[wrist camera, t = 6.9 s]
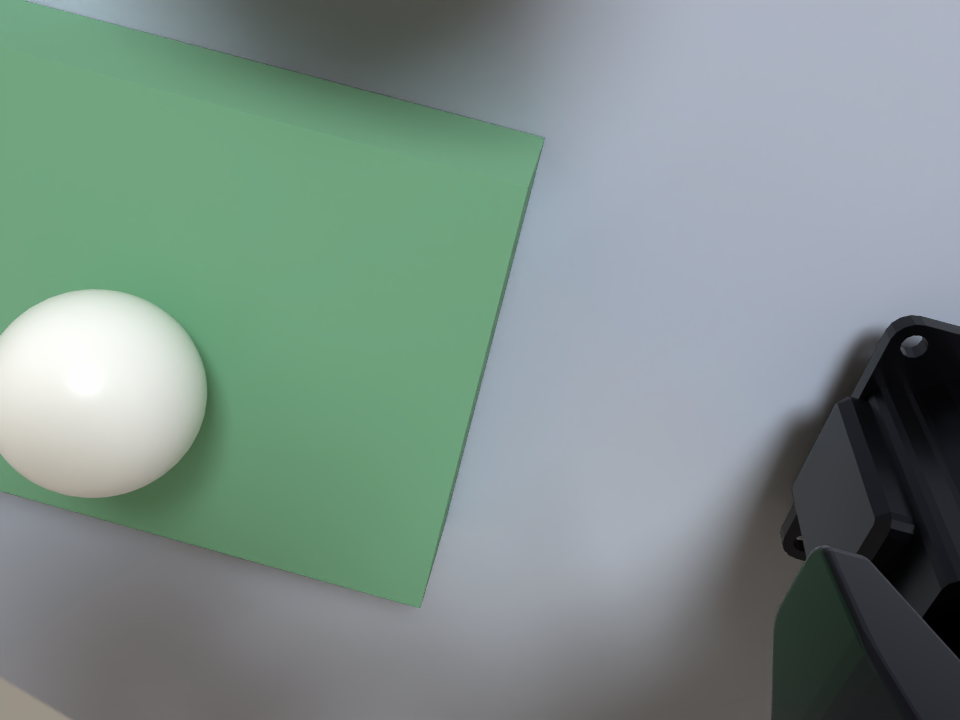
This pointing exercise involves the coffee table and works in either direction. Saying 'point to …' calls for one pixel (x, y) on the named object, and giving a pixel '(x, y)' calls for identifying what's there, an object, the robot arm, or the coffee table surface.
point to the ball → (98, 393)
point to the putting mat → (268, 281)
